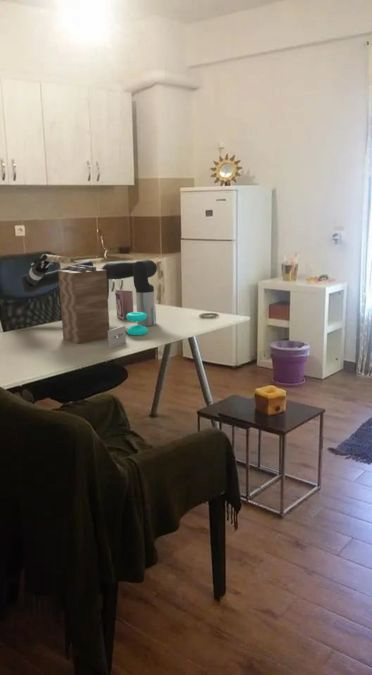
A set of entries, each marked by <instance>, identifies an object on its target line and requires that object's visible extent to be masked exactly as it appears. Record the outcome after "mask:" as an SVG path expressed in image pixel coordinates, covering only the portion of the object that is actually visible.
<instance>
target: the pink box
mask: <svg viewBox="0 0 372 675" xmlns="http://www.w3.org/2000/svg"><path fill="white" fill-rule="evenodd" d="M114 294H115V304H116V305H115V306H116V309H115V310H116V318H118V317H119V318H118V319H121V320H123V321H124V320H125V319H124V318H126V315H127V314H128V313H132V312H134V298H133V297H134V296H133V294H134V293H133V290H121V289H119V290H118V289H115V292H114Z"/></svg>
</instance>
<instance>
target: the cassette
mask: <svg viewBox="0 0 372 675" xmlns="http://www.w3.org/2000/svg"><path fill="white" fill-rule="evenodd" d="M126 339H127V338H126V326H125V325H121V326H118V327H115V328H112V329H110V330H108V339H107V342H108V343H107V345H108V348H109V349H111V348H115V347H118V346H121V345H123V344H125V343H127V340H126Z"/></svg>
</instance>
